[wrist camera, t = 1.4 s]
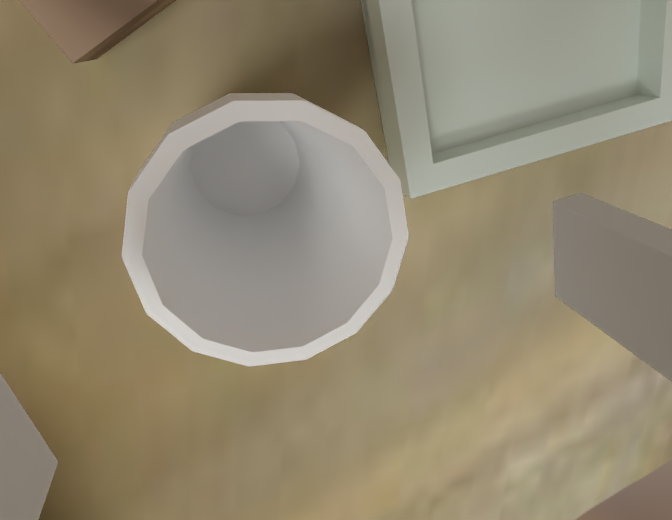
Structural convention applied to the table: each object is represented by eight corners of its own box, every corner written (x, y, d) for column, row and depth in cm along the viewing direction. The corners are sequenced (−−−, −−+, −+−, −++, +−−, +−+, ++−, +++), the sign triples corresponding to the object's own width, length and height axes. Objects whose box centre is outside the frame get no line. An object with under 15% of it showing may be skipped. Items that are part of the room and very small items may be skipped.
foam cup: (166, 244, 29) (141, 379, 17) (145, 73, 25) (95, 101, 14) (326, 233, 31) (399, 348, 20) (328, 74, 27) (419, 99, 16)
